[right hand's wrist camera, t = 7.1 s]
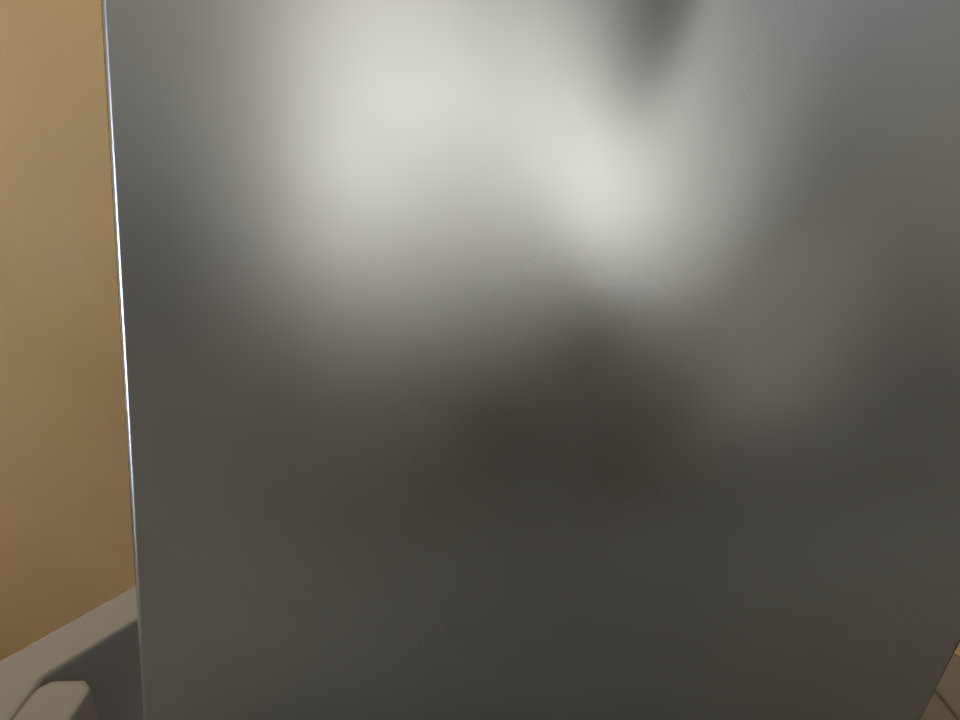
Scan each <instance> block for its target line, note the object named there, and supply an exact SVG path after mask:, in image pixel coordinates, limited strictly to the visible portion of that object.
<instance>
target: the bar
mask: <svg viewBox="0 0 960 720" xmlns="http://www.w3.org/2000/svg"><path fill="white" fill-rule="evenodd" d="M101 9H102V26H103V43H104V60H105V76H106V93H107V110H108V127H109V144H110V161H111V178H112V195H113V211H114V228H115V245H116V262H117V279H118V296H119V313H120V330H121V346H122V363H123V380H124V397H125V414H126V431H127V448H128V465H129V481H130V498H131V515H132V532H133V549H134V566H135V583H136V600H137V616H138V633H139V650H140V667H141V684H142V701H143V718H144V720H920V719H921V717H922V715H923V713H924V711H925V709H926V707H927V705H928V703H929V701H930V699H931V697H932V695H933V693H934V691H935V689H936V687H937V685H938V683H939V681H940V679H941V677H942V675H943V674H944V672H945V670H946V668H947V666H948V664H949V662H950V660H951V658H952V656H953V654H954V652H955V650H956V648H957V646H958V644H959V642H960V0H101Z"/></svg>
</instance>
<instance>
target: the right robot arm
mask: <svg viewBox="0 0 960 720" xmlns="http://www.w3.org/2000/svg"><path fill="white" fill-rule="evenodd" d="M0 720H144V718H143V701H142V684H141V667H140V650H139V633H138V616H137V600H136V586H134V587H132V588H130V589H129V590H127V591H125V592H123V593H121V594H120V595H118V596H116V597H114V598H112V599H111V600H109V601H107V602H105V603H103V604H102V605H100V606H98V607H96V608H94V609H93V610H91V611H89V612H87V613H85V614H84V615H82V616H80V617H78V618H76V619H75V620H73V621H71V622H69V623H68V624H66V625H64V626H62V627H60V628H59V629H57V630H55V631H53V632H51V633H50V634H48V635H46V636H44V637H42V638H41V639H39V640H37V641H35V642H33V643H32V644H30V645H28V646H26V647H24V648H23V649H21V650H19V651H17V652H15V653H14V654H12V655H10V656H8V657H7V658H5V659H3V660H1V661H0ZM920 720H960V656H958V655H956V654H953V656H952V658H951V660H950V662H949V664H948V666H947V668H946V670H945V672H944V674H943V675H942V677H941V679H940V681H939V683H938V685H937V687H936V689H935V691H934V693H933V695H932V697H931V699H930V701H929V703H928V705H927V707H926V709H925V711H924V713H923V715H922V717H921V719H920Z"/></svg>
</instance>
